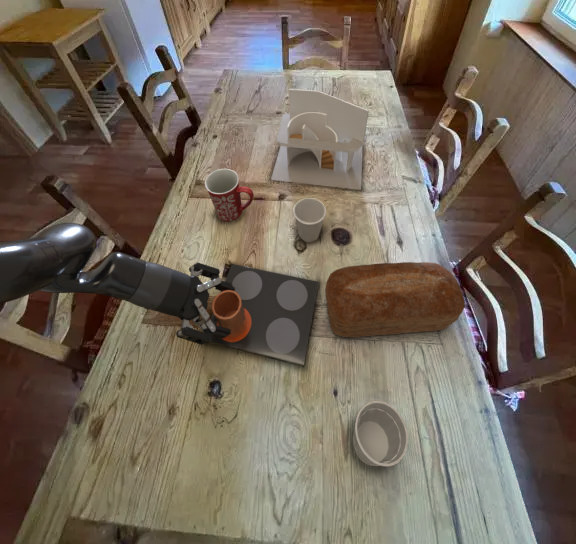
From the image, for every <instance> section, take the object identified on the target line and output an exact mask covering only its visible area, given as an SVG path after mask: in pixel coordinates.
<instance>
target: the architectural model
mask: <svg viewBox="0 0 576 544" xmlns="http://www.w3.org/2000/svg"><path fill="white" fill-rule="evenodd" d="M288 107H289V108H288V110H289V112H288V113H287V112H285V113H283V114H282V115H281V119H280V123H279V127H278V132H277V137H276V144H277V145H278V146H280V147H279V150H278V154H277V157H276V160H275V164H274V167H273V171H272V173H271V178H270V180H271V181H277V182H285V183H295V184H305V185H312V186H313V185H314V186H322V187H331V188H340V189H351V190H360V191H362V174H363V149H364V148H363V147H364V146H363V145H364V144H365V143H366V142H367V138H368V136H367V135H366V131H367V125H368V120H369V119H368V118H369V113H370V110H369V109H367V108H365V107H363V106H362V107H361V106H359V105H357V104H354V103H351V102H349V101H346V100H344V99H342V98H339V97H336V96H333V95H330V94H328V93H326V92H322V91H320V90H314V89H313V90H312V89H298V88H288Z"/></svg>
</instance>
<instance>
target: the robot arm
mask: <svg viewBox="0 0 576 544" xmlns="http://www.w3.org/2000/svg"><path fill="white" fill-rule="evenodd" d="M97 245H98V241H97V237H96V234H95V233H94V231H93V230H92V229H90V228H89V227H88V226H86V225H84V224H82V223H81V224H80V223H78V222H77V223H76V222H62V223H57V224H53V225H51V226H48V227H47V228H45V229H43V230H41V231H39V232H37V233H36V234H34V235H32V236H31V237H30V238H22V239H13V240H8V241H7V240H6V241H2V242H0V305H1V304H5V303H9V302H13V301H15V300H18V299H21V298H24V297H26V296H29V295H31V294H34V293H36V292H39V291H41V292H44V293H50V294H53V293H54V294H95V295H101V296H102V295H103V296H107V297H110V298H113V299H117V300H121V301H125V302H128V303H130V304H132V305H134V306H135V307H136V306H137V307H139V308H143V309H144V310H147V311H149V310H150V311H154V312H156V313H161V314H164V315H167V316H171V317H177V318H178V319H179V320H180V321H181V323H180V327H179V329H178V330H177V331H176V332H175V335H176V338H178V339H182V340H184V341H188V342H191V343H193V344H196V345H200V346H203V345H206V344H207V343H208V342H209V341H211V339H212V337H211V336H213V337H217V338H221V339H222V338H225V337H227V336H228V335H230V334H231V329H228V328H225V327H221V326H218V325H216V326H214V324H213V323H212V321H211V320H210V319H211V316H210V314H209V312H208V311H207V310H208V308H209V301H208V300H209V298H210V292H209V290H211V289H215V290H216V291H219V292H221V291H226V290H232V291H235V287H233V285H232V284H231V283H228V282H225V280H222V278H221V277H220V273H221V270H220V269H219V268H217V267H214V266H212V265H208V264H204V263H201V262H195V263H193V264H192V265H191V266H190V267H189V268H188V271H189V273H190V275H189V274H188V273H186V272H183V271H179V270H177V269H173V268H171V267H168V266H165V265H163V264H159V263H157V262H152V261H147V260H144V259H141V258H139V257H136V256H133V255H130V254H127V253H125V252H122V251H113V252H111V253H109V255H108V256H106V257H105V258H104V260H103V261H102V262H101V263H100V264H99V265H97V266H96V267H94V269H91V270H86V271H83V270H84V269H85V267H86V266H87V264H88V262H89V261H90V259H91V257H92V255H93V254H94V252H95V250H96V248H97ZM199 276H201V277H204V278H208V279H210V280H209V281H207V282H204V283H203V282H202V280H201V279H200V278H199ZM190 321H192V323H193V324H194V325H192V324H191V323H190ZM194 326H195V327H197V328H199V330H198V329H196V328H194Z"/></svg>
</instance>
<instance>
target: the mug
mask: <svg viewBox="0 0 576 544" xmlns="http://www.w3.org/2000/svg"><path fill="white" fill-rule="evenodd" d="M239 182H240V177H239V175H238V173H237V172H236V171H235V170H233V169H231V168H219V169H216V170H213V171H212V172H210V173H209V174H208V175H207V176H206V178H205V180H204V189H205V190H206V191H207V193H208V195H209V198H210V200H211V204H212V205H213V207H214V211H215V212H216V215H217V217H218V219H219V220H220V221H222V222H227V223H231V222H234V221H236V220H238V219H240V217H241V215H242V214H243V211H245V209H247V208H248V207H249V206H250V205H252V202H253V200H254V192H253V189H251V187H248V186H245V185H244V186H240V183H239ZM241 193H245V194H247V195H248V196H249V200H247V201H246V202H245V203H244V204H242V198H241V197H242V196H241Z"/></svg>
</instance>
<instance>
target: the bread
mask: <svg viewBox="0 0 576 544" xmlns="http://www.w3.org/2000/svg"><path fill="white" fill-rule="evenodd" d="M324 288H325V289H324V290H325V291H324V292H325V293H324V294H325V299H326V311H327V317H328V320H329V321H328V322H329V325H330V329H331V331H332V333H333V334H334V335H335V336H338V337H345V338H359V337H360V338H361V337H370V336H387V335H388V336H389V335H399V334H409V333H417V332H418V333H420V332H436V331H443V330H446V329H448V328H449V327H450V326H451V325H453V324H454V323H456V322H457V321H458V319H459V317H460V316H461V315H462V313H463V311H464V309H465V308H466V300H465V297H464V292H463V291H462V289H461V286H460V284H459V282H458V279H457V277H456V276H454V274H453V273H452V272H451V271H450V270H449V269H447V268H445V267H444V266H443V265H441V264H439V263H437V262H429V261H428V262H427V261H425V262H424V261H423V262H421V261H420V262H415V261H413V262H412V261H411V262H410V261H407V262H406V261H405V262H403V261H402V262H384V263H383V262H381V263H371V264H357V265H349V266H344V267H341V268H338V269H335V270H334V271H332V272H331V273H330V274H329V276H328V278H327V280H326V282H325V287H324Z"/></svg>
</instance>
